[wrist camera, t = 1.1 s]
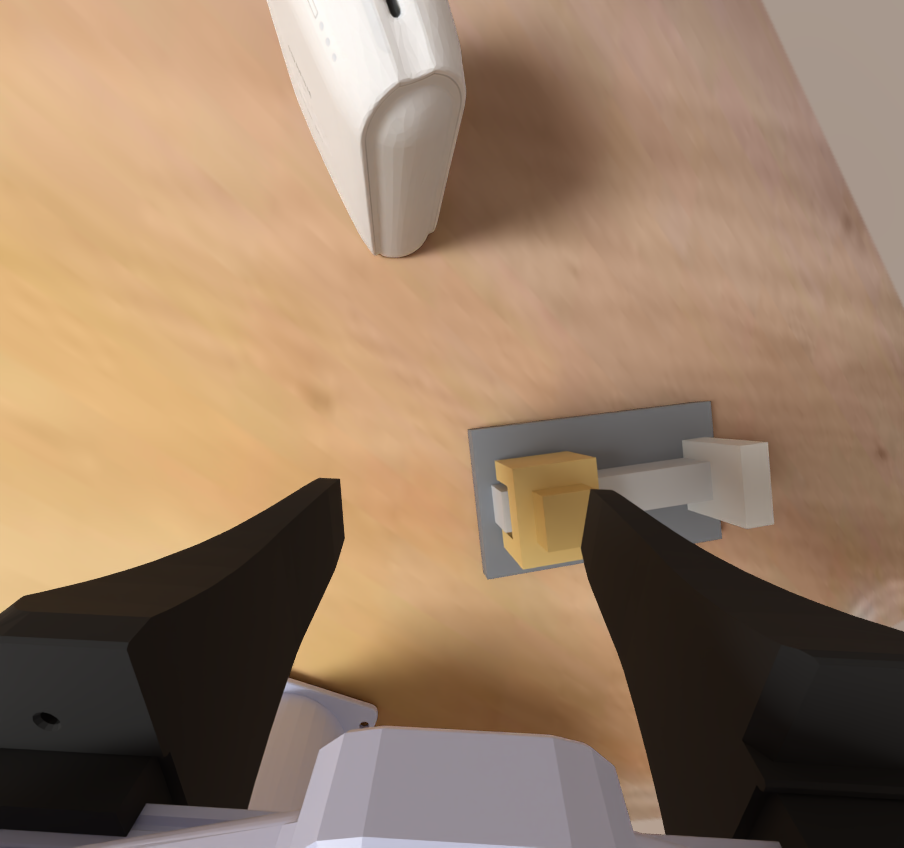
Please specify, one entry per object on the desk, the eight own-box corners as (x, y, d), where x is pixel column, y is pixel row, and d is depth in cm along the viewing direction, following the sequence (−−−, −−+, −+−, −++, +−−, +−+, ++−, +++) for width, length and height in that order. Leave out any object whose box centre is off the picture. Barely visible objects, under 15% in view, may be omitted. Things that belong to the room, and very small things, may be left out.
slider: (504, 547, 22) (532, 581, 18) (494, 460, 22) (521, 473, 18) (575, 535, 23) (620, 565, 18) (567, 450, 23) (610, 460, 18)
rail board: (483, 572, 23) (508, 615, 18) (467, 429, 23) (489, 434, 18) (709, 533, 25) (786, 563, 21) (697, 401, 25) (773, 399, 20)
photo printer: (282, 80, 21) (138, -372, 9) (361, 53, 22) (327, -408, 9) (370, 272, 22) (348, 101, 10) (444, 242, 23) (509, 44, 10)
